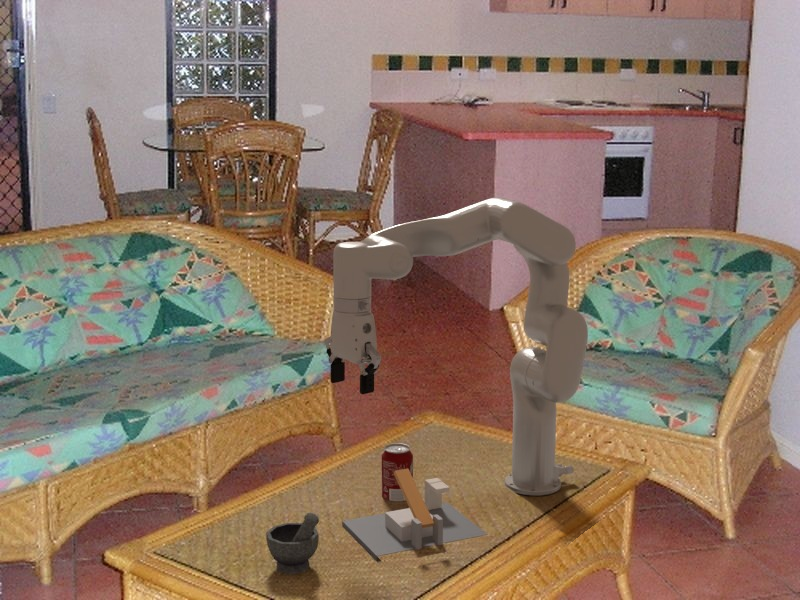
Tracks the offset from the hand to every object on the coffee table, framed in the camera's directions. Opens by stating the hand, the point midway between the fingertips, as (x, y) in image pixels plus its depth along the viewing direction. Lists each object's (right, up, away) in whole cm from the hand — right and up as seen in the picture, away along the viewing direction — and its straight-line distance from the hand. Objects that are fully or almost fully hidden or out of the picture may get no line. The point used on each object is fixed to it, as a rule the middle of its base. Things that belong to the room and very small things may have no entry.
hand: (352, 387), depth 233 cm
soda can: (+9, -26, +17) cm, 33 cm away
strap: (+12, -22, -3) cm, 25 cm away
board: (+12, -30, +1) cm, 32 cm away
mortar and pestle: (-10, -33, -15) cm, 38 cm away
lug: (+17, -26, +9) cm, 33 cm away
